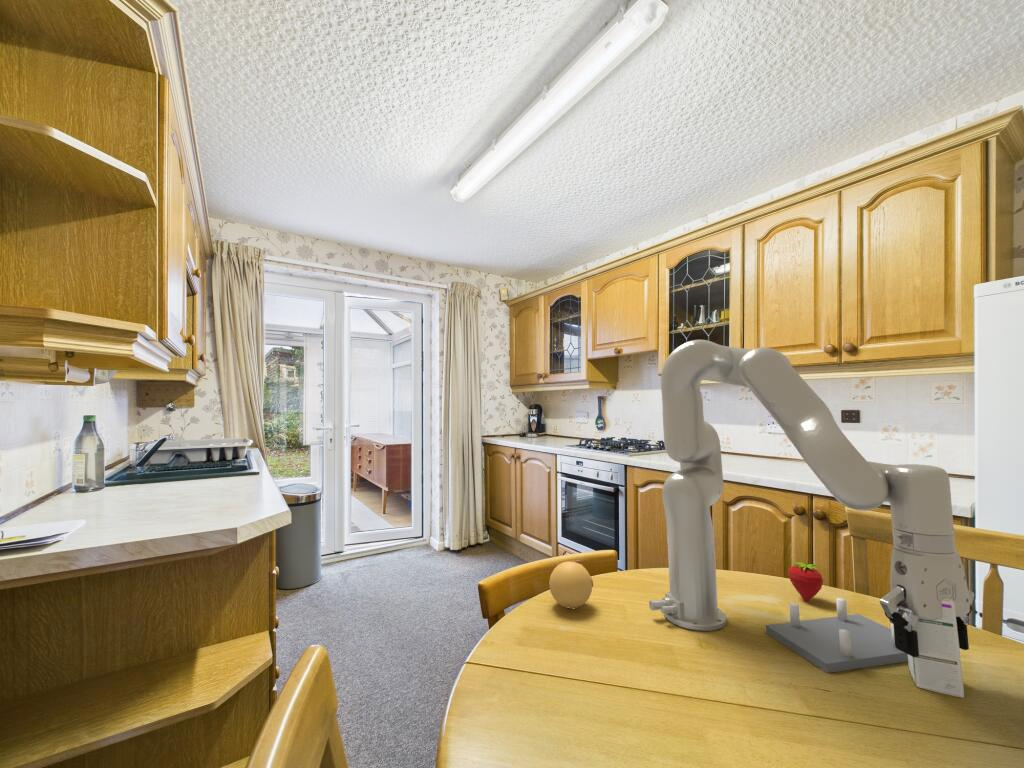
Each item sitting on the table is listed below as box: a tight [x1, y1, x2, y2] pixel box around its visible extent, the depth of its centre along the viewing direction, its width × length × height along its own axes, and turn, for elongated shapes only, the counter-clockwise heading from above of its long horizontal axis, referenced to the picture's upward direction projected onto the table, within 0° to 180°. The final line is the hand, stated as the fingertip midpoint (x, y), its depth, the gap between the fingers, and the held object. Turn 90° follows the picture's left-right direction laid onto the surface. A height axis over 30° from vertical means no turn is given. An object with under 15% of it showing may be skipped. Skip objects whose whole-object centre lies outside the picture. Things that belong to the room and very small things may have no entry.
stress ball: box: [548, 560, 594, 609], centre depth 102 cm, size 10×10×10 cm
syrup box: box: [903, 598, 965, 699], centre depth 72 cm, size 6×6×14 cm
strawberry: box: [787, 556, 824, 602], centre depth 103 cm, size 6×8×10 cm
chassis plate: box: [765, 597, 908, 674], centre depth 84 cm, size 22×14×6 cm, turn 100°
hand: (931, 649), depth 71 cm, fingers open, 9 cm apart
